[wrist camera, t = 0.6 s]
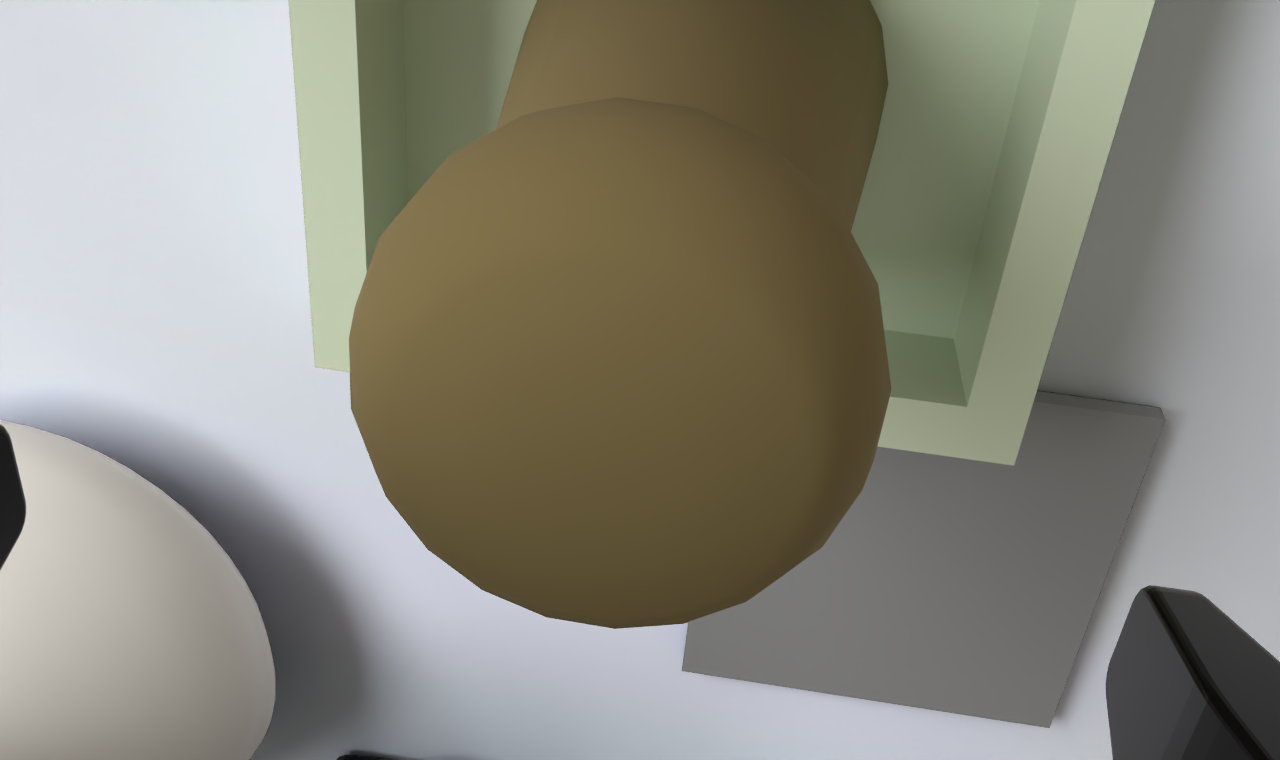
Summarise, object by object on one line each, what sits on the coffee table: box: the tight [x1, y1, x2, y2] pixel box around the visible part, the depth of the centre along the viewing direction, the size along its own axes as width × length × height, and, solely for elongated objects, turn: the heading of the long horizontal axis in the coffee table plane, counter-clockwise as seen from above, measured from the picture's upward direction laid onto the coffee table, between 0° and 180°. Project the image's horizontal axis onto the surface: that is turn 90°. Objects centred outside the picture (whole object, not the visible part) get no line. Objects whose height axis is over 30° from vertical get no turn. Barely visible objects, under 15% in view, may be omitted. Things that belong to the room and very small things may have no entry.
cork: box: [349, 0, 892, 629], centre depth 15 cm, size 6×6×11 cm
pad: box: [682, 391, 1165, 728], centre depth 24 cm, size 8×8×1 cm
